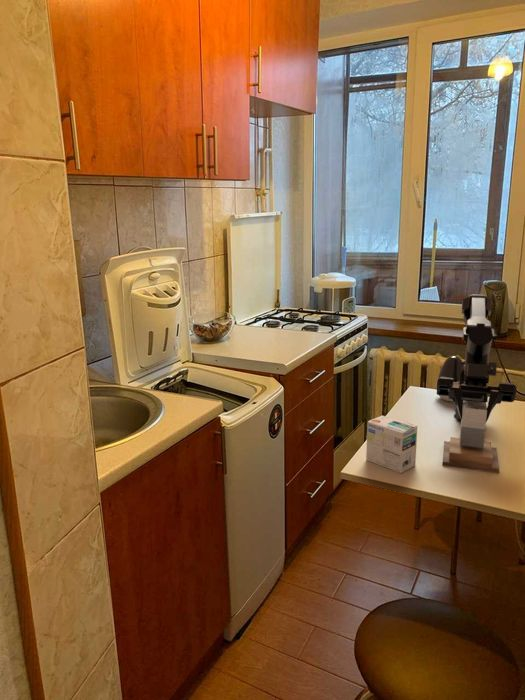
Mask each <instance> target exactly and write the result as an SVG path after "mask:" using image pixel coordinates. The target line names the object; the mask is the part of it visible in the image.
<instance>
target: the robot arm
mask: <svg viewBox="0 0 525 700" xmlns="http://www.w3.org/2000/svg"><path fill="white" fill-rule="evenodd" d="M461 302H462V303H461V313H460V314H461V315H463V319H462V321H463V323H464V324H465V326H464V327H463V329H462V341H464V343H465V345H466V348H465V360H464V361H465V365H464V366H465V369H464V370H463V371H462V372H461V374H460V379H459V382H458V381H457V382H453V378H447V377H439V378H438V377H437V378H438V379H436V383H437V389H436V395H437V396H439V395H441V396H449V397H448V398H449V399H452V400H453V402H452V403H454V405H455V411H454V413H455V414H453V417H454V418H456V419H457V420H458V421H459V422H460V423H461V419H462V411H463V409H462V407H463V401H474V402H484V403H486V404H487V416H486V423H487V422H488V420H489V418H490V416H491V415H492V414H491V413H492V411H493V410H494V408H495V406H496V405H500V404H501V403H502V402H503V403H514V401H515V398H516V395H517V385H516V384H515V383H514V382H506V381H505V382H503V381H499V382H498V386H489V385H488V384H489V382H490V377H496V375H497V369H498V368H497V367H498V362H491V361H490V362H489V357H490V351H491V348H492V347H491V346H492V343H495V341H497V338H498V337H497V336H498V335H497V333H496V332H495V329H494V328H492V322H491V320H489V319H488V318H489V316H490V315H491V313H492V304H493V303H492V299H490V298H488V295H486V294H477V293H475V294H474V293H472V294H469V296H468V297H465V298H462V301H461Z"/></svg>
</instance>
